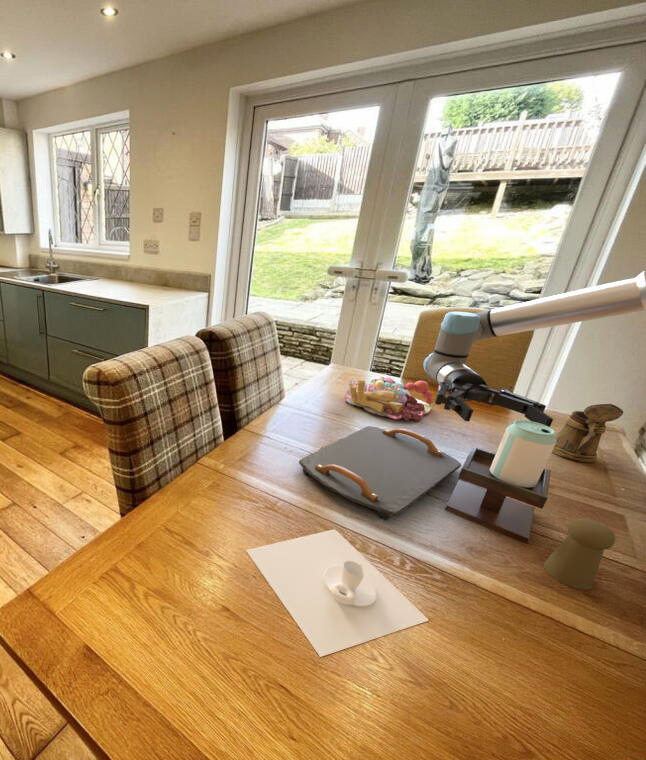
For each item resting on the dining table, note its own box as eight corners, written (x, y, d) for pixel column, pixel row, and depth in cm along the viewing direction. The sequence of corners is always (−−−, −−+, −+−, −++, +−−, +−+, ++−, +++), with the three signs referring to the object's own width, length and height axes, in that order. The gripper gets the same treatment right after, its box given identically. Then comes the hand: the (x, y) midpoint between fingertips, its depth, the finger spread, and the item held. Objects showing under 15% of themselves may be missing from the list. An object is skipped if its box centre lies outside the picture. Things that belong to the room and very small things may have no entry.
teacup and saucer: (343, 615, 61) (348, 596, 59) (308, 574, 68) (313, 556, 66) (387, 601, 63) (394, 582, 62) (350, 562, 70) (355, 545, 69)
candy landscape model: (414, 429, 116) (423, 401, 112) (333, 403, 132) (339, 378, 128) (436, 405, 132) (444, 379, 128) (361, 384, 148) (367, 361, 144)
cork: (542, 574, 68) (569, 524, 64) (544, 555, 72) (569, 507, 68) (593, 596, 64) (625, 545, 60) (591, 575, 68) (621, 525, 64)
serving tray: (385, 532, 77) (393, 507, 75) (286, 473, 95) (290, 451, 93) (465, 469, 97) (473, 448, 95) (371, 430, 115) (376, 411, 113)
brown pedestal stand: (532, 511, 83) (552, 470, 79) (526, 543, 75) (549, 499, 71) (456, 483, 92) (471, 445, 88) (444, 509, 84) (460, 468, 80)
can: (514, 469, 82) (536, 418, 78) (545, 490, 76) (571, 436, 71) (479, 468, 82) (500, 417, 78) (507, 489, 76) (531, 435, 71)
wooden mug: (553, 463, 100) (583, 399, 94) (544, 441, 111) (571, 382, 104) (603, 475, 96) (639, 409, 89) (589, 451, 106) (621, 390, 99)
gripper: (514, 402, 98) (575, 445, 79) (401, 390, 104) (433, 427, 85) (526, 374, 95) (591, 412, 76) (409, 363, 102) (443, 396, 83)
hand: (508, 420), depth 81 cm, fingers open, 13 cm apart
